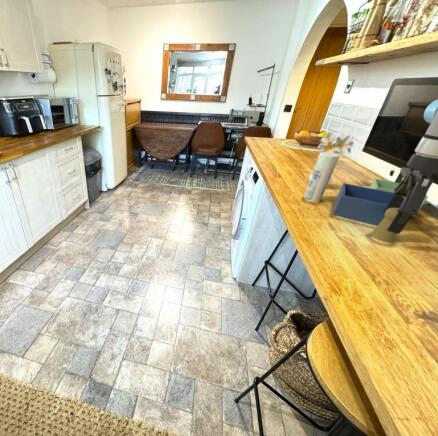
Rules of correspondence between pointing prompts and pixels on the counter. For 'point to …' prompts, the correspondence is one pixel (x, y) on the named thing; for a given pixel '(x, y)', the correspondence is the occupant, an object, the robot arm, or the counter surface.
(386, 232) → the olive pepper mill
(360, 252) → the counter surface
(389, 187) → the sage bin
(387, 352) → the counter surface
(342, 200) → the slate bin
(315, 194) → the spray can
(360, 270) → the counter surface
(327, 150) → the flower vase
